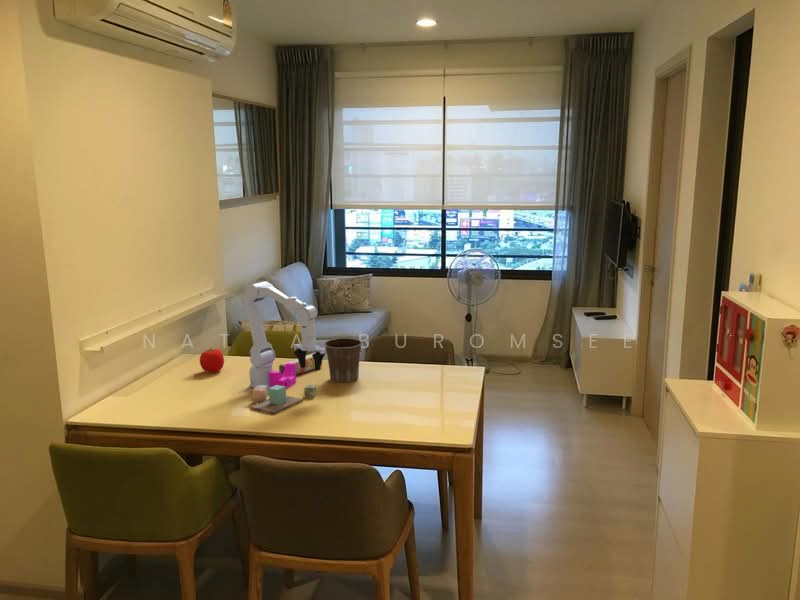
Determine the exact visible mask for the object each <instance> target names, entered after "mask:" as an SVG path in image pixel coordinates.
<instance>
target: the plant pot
mask: <svg viewBox="0 0 800 600" xmlns="http://www.w3.org/2000/svg"><path fill="white" fill-rule="evenodd" d="M362 345H363V341H362V340H361V339H357V338H350V337H342V338H334V339H329V340H326V341H325V342H324V348H325V354H327V363H328V370H329V378H330V380H331V381H332V382H335V383H337V382H339V383H341V382H344V383H351V381H352V382H354V381H355V382H356V381H357V380H358V379H359V371H360V369H359V368H360V358H361V357H360V356H361V355H360V353H361V350H362Z"/></svg>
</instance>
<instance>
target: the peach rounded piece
mask: <svg viewBox="0 0 800 600" xmlns="http://www.w3.org/2000/svg"><path fill="white" fill-rule="evenodd" d="M252 399H253V400H252V401H253V404H255V403H260V402H263V401H265V400H267V396H266V388H263V387H259V388H255V387H253V389H252Z"/></svg>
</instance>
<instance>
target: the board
mask: <svg viewBox="0 0 800 600" xmlns="http://www.w3.org/2000/svg"><path fill="white" fill-rule="evenodd" d="M303 401H304V400H303V398H299V397H296V396H295V397H294V396H290V395H286V402H284V403H282V404H280V405H276V404H271V403H270V401H269V398H268V399H267V398H266V400H265V401H263V402H260V403H258V404H255V403H254V405H251V406H250V410H252V409H254V410H253V411H256V410H258V411H257V412H261V411H262V413H265V412H266V413H265V414H269V413H270V415H273V414H274V415H277V414H279V413H281V412H283V411H285V410H288V409H290V408H292V407H294V406H297V405H299V404H300V402H301V403H303ZM293 405H294V406H293ZM291 406H292V407H291ZM289 407H290V408H289ZM287 408H288V409H287ZM282 410H283V411H282ZM280 411H281V412H280ZM278 412H279V413H278ZM276 413H277V414H276Z"/></svg>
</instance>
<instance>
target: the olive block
mask: <svg viewBox="0 0 800 600" xmlns="http://www.w3.org/2000/svg"><path fill="white" fill-rule="evenodd" d="M303 391H304V395H303V396H304V398H315V397H316V395H317V385H316V384H305V385H304V387H303Z"/></svg>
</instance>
